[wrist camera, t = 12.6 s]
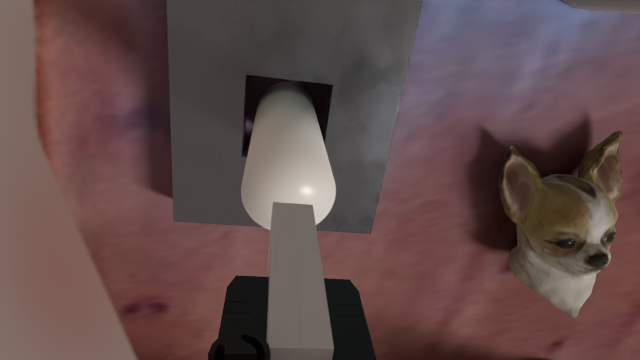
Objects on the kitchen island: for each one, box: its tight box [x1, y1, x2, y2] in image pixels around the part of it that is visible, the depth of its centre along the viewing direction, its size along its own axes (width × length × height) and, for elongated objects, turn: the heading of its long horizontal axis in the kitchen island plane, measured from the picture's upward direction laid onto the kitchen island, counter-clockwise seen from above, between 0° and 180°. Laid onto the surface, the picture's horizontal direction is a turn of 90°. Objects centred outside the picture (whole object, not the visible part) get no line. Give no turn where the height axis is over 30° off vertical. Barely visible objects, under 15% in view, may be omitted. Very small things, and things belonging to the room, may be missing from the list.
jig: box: [166, 0, 423, 234], centre depth 29 cm, size 18×16×3 cm
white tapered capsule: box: [241, 82, 336, 230], centre depth 24 cm, size 4×4×14 cm
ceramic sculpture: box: [498, 131, 623, 317], centre depth 33 cm, size 11×9×15 cm
